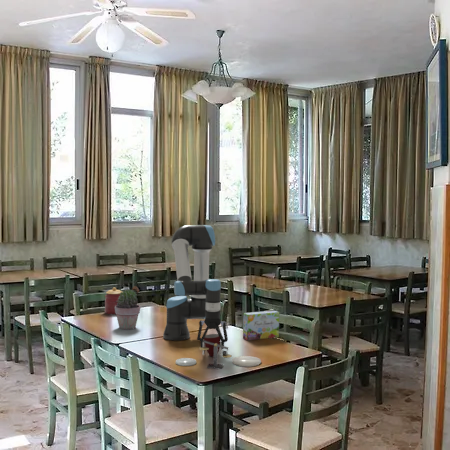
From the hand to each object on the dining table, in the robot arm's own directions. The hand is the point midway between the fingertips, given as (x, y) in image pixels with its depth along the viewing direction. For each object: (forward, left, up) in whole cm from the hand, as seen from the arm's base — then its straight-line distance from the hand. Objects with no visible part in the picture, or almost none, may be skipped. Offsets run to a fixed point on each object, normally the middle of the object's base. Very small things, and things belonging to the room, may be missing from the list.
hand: (212, 354), depth 291 cm
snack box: (+22, +44, -1) cm, 49 cm away
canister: (-83, +98, -1) cm, 128 cm away
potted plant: (-61, +54, -1) cm, 81 cm away
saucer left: (-11, -13, -1) cm, 17 cm away
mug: (0, 0, 0) cm, 0 cm away
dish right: (+18, -7, -1) cm, 20 cm away
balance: (+4, -17, -1) cm, 18 cm away
